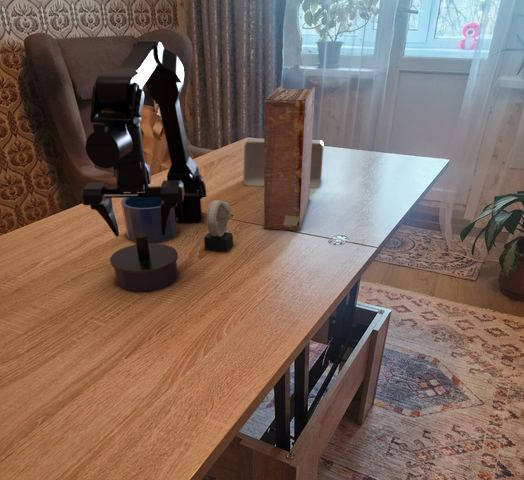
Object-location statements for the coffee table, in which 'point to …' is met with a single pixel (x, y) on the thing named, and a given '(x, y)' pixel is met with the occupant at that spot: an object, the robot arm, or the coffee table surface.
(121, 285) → the pan
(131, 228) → the pot
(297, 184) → the book
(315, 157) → the white rounded tray
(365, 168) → the coffee table surface
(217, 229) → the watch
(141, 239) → the lid
